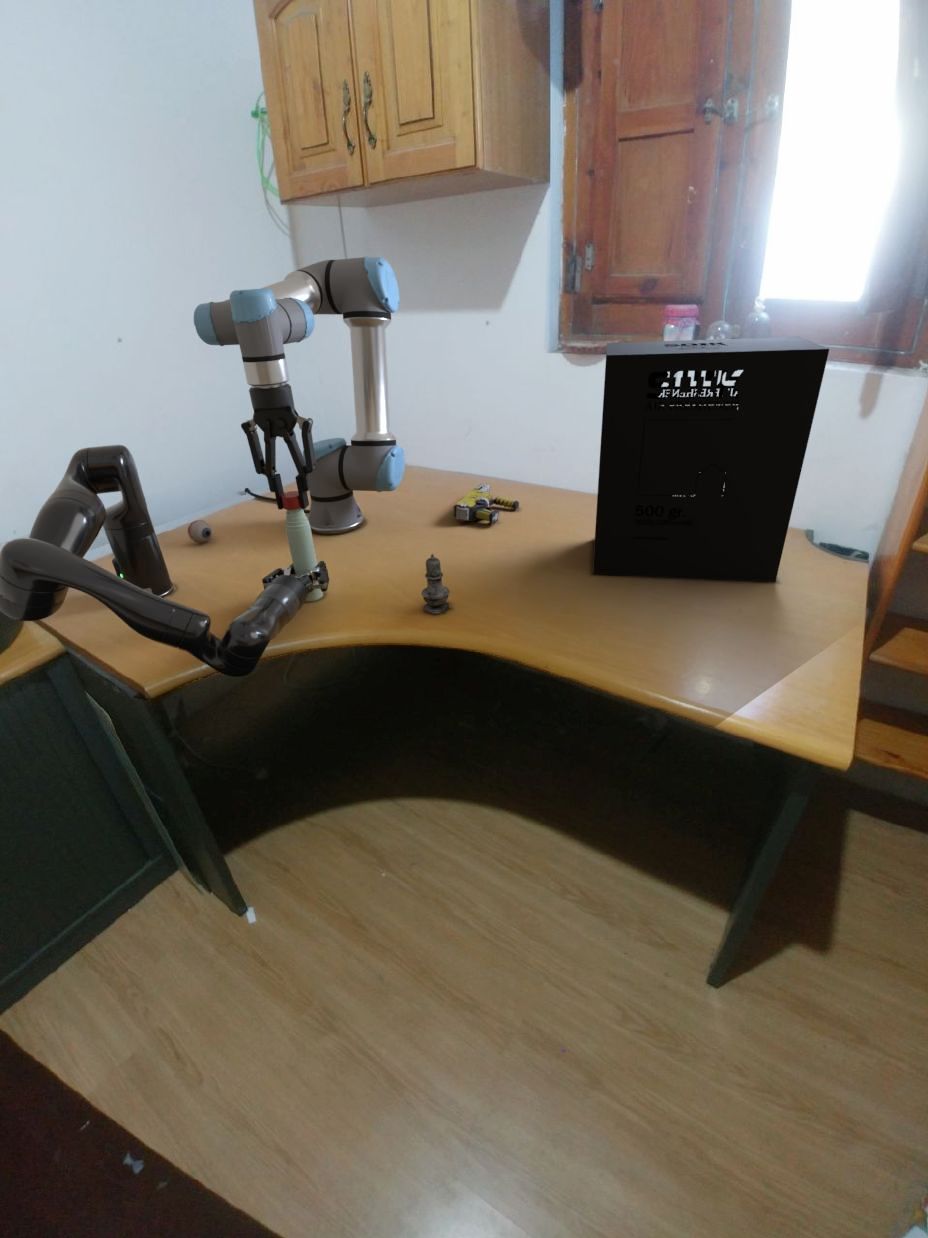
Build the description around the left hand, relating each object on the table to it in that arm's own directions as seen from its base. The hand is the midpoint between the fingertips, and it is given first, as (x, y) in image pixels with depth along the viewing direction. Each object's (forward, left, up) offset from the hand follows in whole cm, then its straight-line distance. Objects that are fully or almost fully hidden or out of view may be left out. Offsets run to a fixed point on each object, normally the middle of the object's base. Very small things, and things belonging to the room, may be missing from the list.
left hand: (311, 564), depth 131 cm
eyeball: (-42, +27, -6) cm, 50 cm away
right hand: (0, -3, +14) cm, 14 cm away
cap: (0, -3, +17) cm, 17 cm away
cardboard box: (+81, +19, -6) cm, 83 cm away
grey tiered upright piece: (+29, -7, -6) cm, 30 cm away
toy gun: (+34, +51, -6) cm, 61 cm away
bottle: (0, -3, -6) cm, 7 cm away
